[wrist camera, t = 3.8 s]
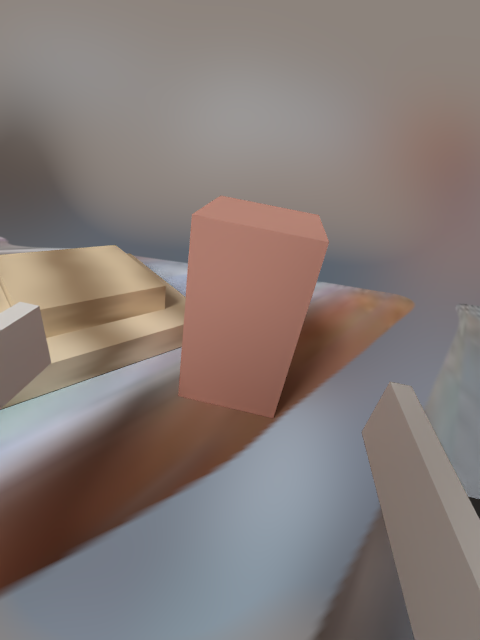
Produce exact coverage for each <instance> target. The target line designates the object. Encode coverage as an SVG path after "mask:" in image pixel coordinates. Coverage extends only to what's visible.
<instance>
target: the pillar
mask: <svg viewBox="0 0 480 640" xmlns="http://www.w3.org/2000/svg"><path fill="white" fill-rule="evenodd" d="M328 244H329V241H328V238H327V235H326V233H325V230H324V228H323V225H322V222H321V220H320V217H319V215H316V214H310V213H305V212H300V211H295V210H291V209H285V208H280V207H275V206H270V205H265V204H260V203H255V202H250V201H245V200H240V199H235V198H230V197H225V196H219V197H218V198H216V199H215V200H213V201H212V202H210V203H209V204H207V205H206V206H204V207H203V208H201V209H200V210H198V211H196V212H195V213H194V214H192V222H191V234H190V248H189V261H188V274H187V287H186V300H185V313H184V327H183V340H182V353H181V366H180V380H179V393H178V396H180V397H185V398H189V399H193V400H197V401H202V402H206V403H210V404H214V405H219V406H223V407H227V408H232V409H236V410H240V411H244V412H249V413H253V414H257V415H261V416H266V417H270V418H273V417H274V414H275V411H276V408H277V405H278V401H279V398H280V395H281V392H282V389H283V386H284V383H285V379H286V376H287V373H288V370H289V367H290V364H291V361H292V357H293V354H294V351H295V348H296V345H297V342H298V338H299V335H300V332H301V329H302V326H303V323H304V320H305V316H306V313H307V310H308V307H309V304H310V301H311V298H312V294H313V291H314V288H315V285H316V282H317V279H318V275H319V272H320V269H321V266H322V263H323V260H324V257H325V254H326V250H327V247H328Z"/></svg>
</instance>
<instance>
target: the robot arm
mask: <svg viewBox="0 0 480 640" xmlns="http://www.w3.org/2000/svg"><path fill="white" fill-rule="evenodd" d="M50 364H51V358H50V354H49V349H48V344H47V339H46V335H45V330H44V325H43V320H42V316H41V311H40V306H38V305H33V304H29V303H24V302H18V303H17V304H15V305H13V306H12V307H10V308H8V309H6V310H5V311H3V312H1V313H0V409H1V408H2V407H3V406H5V405H6V404H7V403H8V402H9V401H10V400H11V399H12V398H13V397H14V396H16V395H17V394H18V393H19V392H20V391H21V390H22V389H23V388H24V387H25V386H27V385H28V384H29V383H30V382H31V381H32V380H33V379H34V378H35V377H36V376H37V375H39V374H40V373H41V372H42V371H43V370H44V369H45V368H46V367H47V366H48V365H50ZM362 436H363V439H364V443H365V447H366V451H367V455H368V459H369V463H370V467H371V471H372V474H373V479H374V483H375V487H376V490H377V494H378V498H379V502H380V506H381V510H382V514H383V518H384V522H385V526H386V530H387V534H388V537H389V541H390V545H391V549H392V553H393V557H394V561H395V565H396V569H397V573H398V577H399V581H400V584H401V588H402V592H403V596H404V600H405V604H406V608H407V612H408V616H409V620H410V624H411V627H412V631H413V635H414V639H415V640H480V499H475V498H471V497H468V496H467V494H466V492H465V490H464V488H463V486H462V484H461V482H460V480H459V478H458V476H457V474H456V472H455V470H454V468H453V467H452V465H451V463H450V461H449V459H448V457H447V455H446V453H445V451H444V449H443V447H442V445H441V443H440V441H439V439H438V437H437V435H436V433H435V431H434V429H433V427H432V426H431V424H430V422H429V420H428V418H427V416H426V414H425V412H424V410H423V408H422V406H421V404H420V402H419V400H418V398H417V396H416V394H415V392H414V390H413V389H412V387H411V386H408V385H403V384H399V383H393V382H389V384H388V386H387V388H386V390H385V391H384V393H383V395H382V397H381V399H380V400H379V402H378V404H377V406H376V407H375V409H374V411H373V413H372V415H371V416H370V418H369V420H368V422H367V423H366V425H365V427H364V429H363V431H362Z"/></svg>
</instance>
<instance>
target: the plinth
mask: <svg viewBox="0 0 480 640" xmlns="http://www.w3.org/2000/svg"><path fill="white" fill-rule="evenodd" d="M185 300H186V297H185V296H183V295H182V294H181V293H179V292H178V291H177V290H176V289H174V288H173V287H172V286H171V285H169V284H168V283H167V282H166V281H164V280H163V279H162V278H161V277H159V276H158V275H157V274H156V273H154V272H153V271H152V270H150V269H149V268H148V267H147V266H145V265H144V264H143V263H142V262H140V261H139V260H138V259H137V258H135V257H134V256H133V255H132V254H126V253H125V252H123V251H122V250H121V249H119V248H118V247H117V246H116V245H110V246H99V247H88V248H75V249H64V250H52V251H40V252H29V253H17V254H5V255H0V313H1V312H3V311H5V310H6V309H8V308H10V307H12V306H13V305H15V304H17V303H18V302H24V303H29V304H33V305H38V306H40V311H41V316H42V320H43V325H44V330H45V335H46V339H47V344H48V349H49V354H50V358H51V364H50V365H48V366H47V367H46V368H45V369H44V370H43V371H42V372H41V373H40V374H39V375H37V376H36V377H35V378H34V379H33V380H32V381H31V382H30V383H29V384H28V385H27V386H25V387H24V388H23V389H22V390H21V391H20V392H19V393H18V394H17V395H16V396H14V397H13V398H12V399H11V400H10V401H9V402H8V403H7V404H6V405H5V406H3V407H2V408H1V409H3V408H6V407H9V406H12V405H15V404H17V403H20V402H23V401H26V400H29V399H32V398H35V397H38V396H41V395H43V394H46V393H49V392H52V391H55V390H58V389H61V388H64V387H67V386H69V385H72V384H75V383H78V382H81V381H84V380H87V379H90V378H93V377H95V376H98V375H101V374H104V373H107V372H110V371H113V370H116V369H119V368H121V367H124V366H127V365H130V364H133V363H136V362H139V361H142V360H145V359H147V358H150V357H153V356H156V355H159V354H162V353H165V352H168V351H171V350H173V349H176V348H179V347H182V340H183V327H184V313H185Z"/></svg>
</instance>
